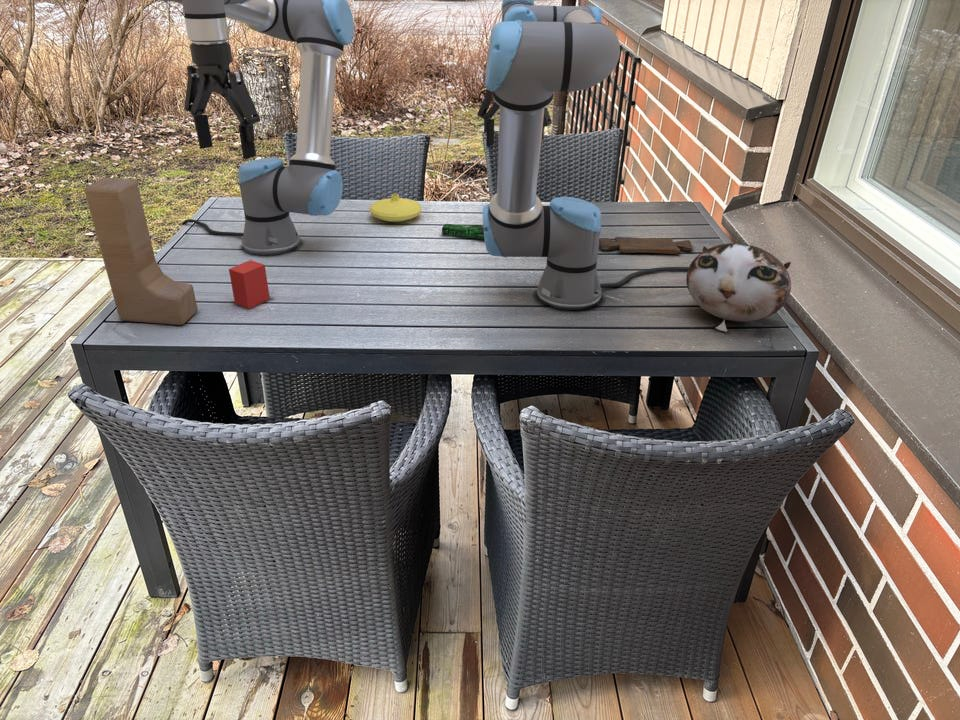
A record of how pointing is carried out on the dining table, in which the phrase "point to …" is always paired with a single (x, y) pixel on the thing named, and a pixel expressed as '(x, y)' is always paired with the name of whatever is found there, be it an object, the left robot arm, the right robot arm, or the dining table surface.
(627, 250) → the dark wooden board
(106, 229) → the brown l-shaped piece
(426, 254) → the dining table surface
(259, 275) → the block
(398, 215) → the yellow lid
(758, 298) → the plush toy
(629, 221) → the dining table surface
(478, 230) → the handgun
